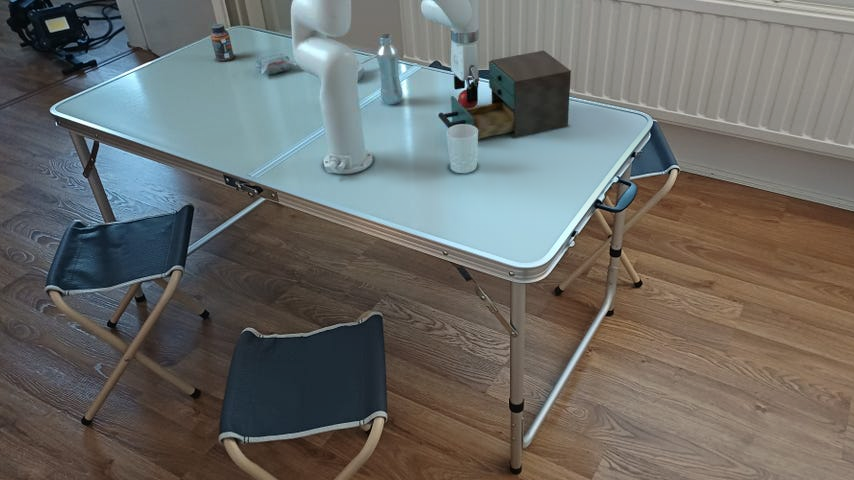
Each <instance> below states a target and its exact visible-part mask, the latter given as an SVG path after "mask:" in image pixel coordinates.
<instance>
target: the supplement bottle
mask: <svg viewBox="0 0 854 480" xmlns="http://www.w3.org/2000/svg"><path fill="white" fill-rule="evenodd" d="M211 30H212V31H211V33H210V38H211V43H212V47H213V52H214V55H215V59H216V60H217V61H218V62H228V61H231V60H233V58H235V55H234V50H233V47H232V41H231V37H230V33H229V31H228V30H226V28H225V24H223V23H216V24H215V23H214V24H213V25H211Z"/></svg>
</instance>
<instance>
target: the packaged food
mask: <svg viewBox="0 0 854 480" xmlns="http://www.w3.org/2000/svg"><path fill="white" fill-rule="evenodd" d="M296 66H298V65H297V63H296V62H294V61H293V60H291V59H290V57H289V56H288V55H285V54H284V53H278V54H277V53H276V54H273V55H272V54H271V55H267V56H263V57H261V58H258V59H257V60H256V62H255V65H254V69H257V68H258V70H260V71H261V72H260V75H261V76H262V75H267V76H270V75H275V74H279V73H283V72H287V71H290V70H292V69H293V68H295V67H296Z"/></svg>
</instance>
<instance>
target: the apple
mask: <svg viewBox="0 0 854 480" xmlns="http://www.w3.org/2000/svg"><path fill="white" fill-rule="evenodd" d="M467 88H468V87H467V86H466V89H467ZM466 89H464V90H461V92H459V94H458V96H457V101H458V102H459V103H460V104H461V105H462V106H463V107H464V108H465V109H469V108H474V107H477V105H478V103H479V99H478V100H477V101H474V102H467V94H466Z"/></svg>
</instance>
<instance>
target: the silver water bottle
mask: <svg viewBox="0 0 854 480" xmlns="http://www.w3.org/2000/svg"><path fill="white" fill-rule="evenodd" d="M379 44H380V45H379V47H378V49H377V51H376V55H377V57H376V60H377V63H378V68H379V73H380V97H381V101H382V102H383V103H385V104H387V105H395V104H398V103H400V102H401V101H402V100H403V94H404V93H403V88H402V86H401V81H400V75H399V62H400V61H399V59H400V58H399V57H400V54H399V50H398V49H397V47H396V45H394V39H393V35H392V34H391V33H382V34H380V35H379Z"/></svg>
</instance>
